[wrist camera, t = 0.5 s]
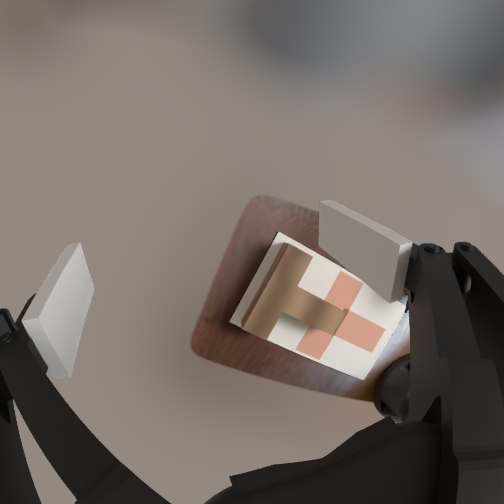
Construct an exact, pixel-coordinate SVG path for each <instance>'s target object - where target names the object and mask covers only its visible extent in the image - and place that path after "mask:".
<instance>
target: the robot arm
mask: <svg viewBox="0 0 504 504" xmlns="http://www.w3.org/2000/svg"><path fill="white" fill-rule="evenodd" d="M319 246H320V247H321V248H322V249H323V250H325V251H326V252H327V253H328V254H330V255H331V256H332V257H333V258H335V259H336V260H337V261H338V262H340V263H341V264H342V265H343V266H345V267H346V268H347V269H348V270H350V271H351V272H352V273H353V274H354V275H356V276H357V277H358V278H359V279H361V280H362V281H363V282H364V283H365V284H367V285H368V286H369V287H370V288H371V289H373V290H374V291H375V292H376V293H377V294H379V295H380V296H381V297H382V298H383V299H384V300H386V301H387V302H388V303H389V304H390V303H392V302H395V301H398V300H400V299H402V295H403V291H404V287H406V288H407V289H408V290H410V292H409V296H408V300H407V304H406V308H405V312H404V313H407V310H409V323H410V354H408V355H405V356H403V357H401V358H400V359H398V360H397V361H395V362H394V363H393V364H392V365H391V366H390V367H389V368H388V369H387V370H386V371H385V372H384V374H383V375H382V376H381V378H380V380H379V381H378V383H377V386H376V388H375V392H374V404H375V407H376V409H377V410H378V411H379V412H380V414H381V415H382V416H384V417H385V418H384V419H382V420H380V421H378V422H376V423H374V424H373V425H371V426H369V427H367V428H365V429H363V430H360V431H358V432H356V433H355V434H354V435H353V436H352V437H350V438H349V439H348V440H346V441H345V442H344V443H343V444H341V445H340V446H339V447H337V448H336V449H335V450H333V451H332V452H331V453H330V454H328V455H327V456H325V457H323V458H321V459H316V460H309V461H302V462H295V463H286V464H275V465H271V466H267V467H264V468H261V469H257V470H253V471H250V472H246V473H242V474H238V475H233V476H230V480H231V483H232V486H230V487H228V488H226V489H224V490H222V491H221V492H219V493H218V494H216V495H214V496H213V497H212V498H210V499H209V500H208V501H206V502H205V503H204V504H504V275H503V274H502V273H501V272H500V271H499V270H498V269H497V268H496V267H495V266H494V265H493V264H492V263H491V262H490V261H489V260H488V259H487V258H486V257H485V256H484V255H483V254H482V253H481V252H480V251H479V250H478V249H477V248H476V247H475V246H473V245H471V244H470V243H467V242H457V243H455V245H454V250H453V253H446V252H445V250H444V249H443V248H442V247H440V246H437V245H435V244H431V243H430V244H428V243H424V244H421V245H419V246H417V245H416V244H414V243H413V242H412V241H410V240H408V239H406V238H404V237H403V236H401V235H399V234H397V233H395V232H393V231H392V230H390V229H388V228H386V227H384V226H382V225H380V224H378V223H376V222H375V221H373V220H370V219H369V218H367V217H365V216H363V215H361V214H359V213H357V212H355V211H353V210H351V209H349V208H347V207H345V206H343V205H341V204H339V203H336V202H334V201H332V200H327V201H320V207H319ZM470 281H471V287H470V291H469V290H468V288H469V285H470ZM93 292H94V286H93V283H92V280H91V277H90V274H89V271H88V267H87V264H86V261H85V258H84V254H83V251H82V248H81V244H80V243H75V244H71V245H67V247H66V248H65V249H64V251H63V252H62V254H61V255H60V257H59V258H58V260H57V261H56V263H55V264H54V266H53V267H52V269H51V271H50V272H49V274H48V275H47V277H46V279H45V280H44V282H43V283H42V285H41V287H40V289H39V290H38V292H37V293H35V294H34V295H33V296H32V297H31V298H30V299H29V300H28V301H27V303H26V305H25V307H24V309H23V310H22V312H21V314H20V315H19V317H18V319H17V321H16V323H15V322H14V320H13V318H12V316H11V314H10V312H9V310H7V309H0V504H41V501H40V499H39V496H38V494H37V491H36V488H35V486H34V483H33V480H32V477H31V474H30V471H29V468H28V464H27V461H26V458H25V454H24V451H23V447H22V443H21V439H20V435H19V430H18V426H17V421H16V416H15V410H14V405H13V399H14V401H15V403H16V405H17V407H18V409H19V411H20V413H21V415H22V417H23V419H24V421H25V423H26V424H27V426H28V428H29V430H30V432H31V433H32V435H33V437H34V438H35V440H36V442H37V443H38V445H39V447H40V448H41V450H42V451H43V453H44V455H45V456H46V458H47V459H48V460H49V462H50V463H51V465H52V467H53V468H54V469H55V471H56V472H57V474H58V475H59V476H60V478H61V479H62V480H63V482H64V483H65V484H66V486H67V487H68V488H69V490H70V491H71V492H72V493H73V495H74V496H75V497H76V499H77V501H76V502H75V504H171V503H170V502H168V501H167V500H165V499H164V498H163V497H162V496H160V495H159V494H158V493H156V492H155V491H154V490H153V489H151V488H150V487H149V486H148V485H147V484H145V483H144V482H143V481H142V480H141V479H140V478H138V477H137V476H136V475H135V474H134V473H133V472H132V471H130V470H129V469H128V468H127V467H126V466H125V465H124V464H122V463H121V462H120V461H119V460H118V459H117V458H116V457H115V456H114V455H113V454H112V453H111V452H110V451H109V450H108V449H107V448H106V447H105V446H104V445H103V444H102V443H101V442H100V441H99V440H98V439H97V438H96V437H95V436H94V434H93V433H91V431H90V430H89V429H88V428H87V427H86V426H85V424H84V423H83V422H82V421H81V420H80V419H79V417H78V416H77V415H76V414H75V413H74V411H73V410H72V409H71V408H70V407H69V405H68V404H67V403H66V401H65V400H64V399H63V397H62V396H61V395H60V393H59V392H58V391H57V389H56V388H55V387H54V385H53V384H52V383H51V381H50V380H49V378H48V377H47V375H46V373H47V370H48V369H49V371H50V372H51V374H52V375H53V377H54V378H55V379H61V378H71V376H72V371H73V366H74V362H75V357H76V353H77V349H78V345H79V341H80V337H81V333H82V330H83V326H84V322H85V319H86V315H87V311H88V308H89V305H90V302H91V299H92V295H93ZM395 422H396V423H395Z"/></svg>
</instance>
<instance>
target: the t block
mask: <svg viewBox="0 0 504 504" xmlns="http://www.w3.org/2000/svg"><path fill="white" fill-rule="evenodd" d="M312 258H313V256H311V255H309V254H307V253H306V252H304V251H302V250H300V249H298V248H297V247H295V246H293V245H291V244H289V243H285V242H284V243H283V245H282V247H281V249H280V251H279V253H278V254H277V256H276V258H275V260H274V262H273V264H272V265H271V267H270V269H269V271H268V273H267V275H266V276H265V278H264V280H263V282H262V284H261V285H260V287H259V289H258V291H257V293H256V295H255V296H254V298H253V300H252V302H251V304H250V305H249V307H248V309H247V311H246V312H245V314H244V316H243V318H242V320H241V325H242V329H243V330H245V331H247V332H249V333H251V334H253V335H255V336H258V337H260V338H262V339H264V340H267V338H268V337H269V335H270V333H271V332H272V330H273V328H274V326H275V325H276V323H277V321H278V320H279V318H280V316H281V314H282V313H283V312H285V313H287V314H289V315H291V316H293V317H295V318H297V319H299V320H301V321H303V322H305V323H307V324H309V325H311V326H313V327H315V328H317V329H320V330H322V331H324V332H326V333H328V334H330V335H333V334H334V332H335V330H336V329H337V327H338V325H339V323H340V322H341V320H342V318H343V316H344V315H345V313H344V312H343V311H342V310H340V309H339V308H338V307H336V306H334V305H332V304H330V303H328V302H327V301H325V300H323V299H321V298H319V297H317V296H315V295H313V294H311V293H309V292H308V291H306V290H304V289H302V288H300V287H298V284H299V282H300V281H301V279H302V277H303V275H304V273H305V271H306V270H307V268H308V266H309V264H310V262H311V260H312Z"/></svg>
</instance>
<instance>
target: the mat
mask: <svg viewBox="0 0 504 504" xmlns="http://www.w3.org/2000/svg"><path fill="white" fill-rule="evenodd" d="M284 242H285V243H289V244H291V245H293V246H295V247H297V248H298V249H300V250H302V251H304V252H306V253H307V254H309V255H311V256H313V258H312V260H311V262H310V264H309V266H308V268H307V270H306V271H305V273H304V275H303V277H302V279H301V281H300V282H299V284H298V287H300V288H302V289H304V290H306V291H308V292H309V293H311V294H313V295H315V296H317V297H319V298H321V299H323V300H325V301H327V302H328V303H330V304H332V305H334V306H336V307H338V308H339V309H340V310H342V311H343V312H344V313H345V315H344V316H343V318H342V320H341V322H340V323H339V325H338V327H337V329H336V330H335V332H334V334H333V335H330V334H328V333H326V332H324V331H322V330H320V329H317V328H315V327H313V326H311V325H309V324H307V323H305V322H303V321H301V320H299V319H297V318H295V317H293V316H291V315H289V314H287V313H285V312H283V313H282V314H281V316H280V318H279V320H278V321H277V323H276V325H275V326H274V328H273V330H272V332H271V333H270V335H269V337H268V338H267V340H268V341H271V342H273V343H275V344H277V345H279V346H282V347H284V348H286V349H288V350H291V351H293V352H295V353H297V354H300V355H302V356H304V357H307V358H309V359H311V360H314V361H316V362H319V363H321V364H323V365H326V366H328V367H331V368H333V369H336V370H338V371H341V372H343V373H346V374H348V375H351V376H353V377H356V378H358V379H361V380H364V379H365V377H366V376H367V374H368V373H369V371H370V370H371V368H372V367H373V365H374V363H375V362H376V360H377V359H378V357H379V355H380V354H381V352H382V350H383V349H384V347H385V345H386V344H387V342H388V340H389V339H390V337H391V335H392V333H393V332H394V330H395V328H396V326H397V324H398V323H399V321H400V319H401V317H402V315H403V313H404V311H405V308H406V306H405V305H403V304H402V303H400V302H398V301H395V302H392V303H390V304H389V303H388V302H387V301H386V300H384V299H383V298H382V297H381V296H380V295H379V294H377V293H376V292H375V291H374V290H373V289H371V288H370V287H369V286H368V285H367V284H365V283H364V282H363V281H362V280H361V279H359V278H358V277H357V276H355V275H353V274H352V273H350V272H348V271H347V270H345V269H343V268H341V267H340V266H338V265H336V264H335V263H333V262H331V261H329V260H328V259H326V258H324V257H322V256H321V255H319V254H317V253H315V252H314V251H312V250H310V249H308V248H307V247H305V246H303V245H301V244H300V243H298V242H296V241H294V240H293V239H291V238H289V237H287V236H285V235H284V234H282V233H280V232H278V234H277V236H276V237H275V239H274V241H273V243H272V245H271V247H270V248H269V250H268V252H267V254H266V256H265V258H264V260H263V261H262V263H261V265H260V267H259V269H258V271H257V272H256V274H255V276H254V278H253V280H252V281H251V283H250V285H249V287H248V289H247V291H246V292H245V294H244V296H243V298H242V300H241V302H240V303H239V305H238V307H237V309H236V311H235V312H234V314H233V316H232V318H231V320H230V321H229V322H231V323H233V324H235V325H237V326H239V327H241V328H242V325H241V320H242V318H243V316H244V314H245V312H246V311H247V309H248V307H249V305H250V304H251V302H252V300H253V298H254V296H255V295H256V293H257V291H258V289H259V287H260V285H261V284H262V282H263V280H264V278H265V276H266V275H267V273H268V271H269V269H270V267H271V265H272V264H273V262H274V260H275V258H276V256H277V254H278V253H279V251H280V249H281V247H282V245H283V243H284Z"/></svg>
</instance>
